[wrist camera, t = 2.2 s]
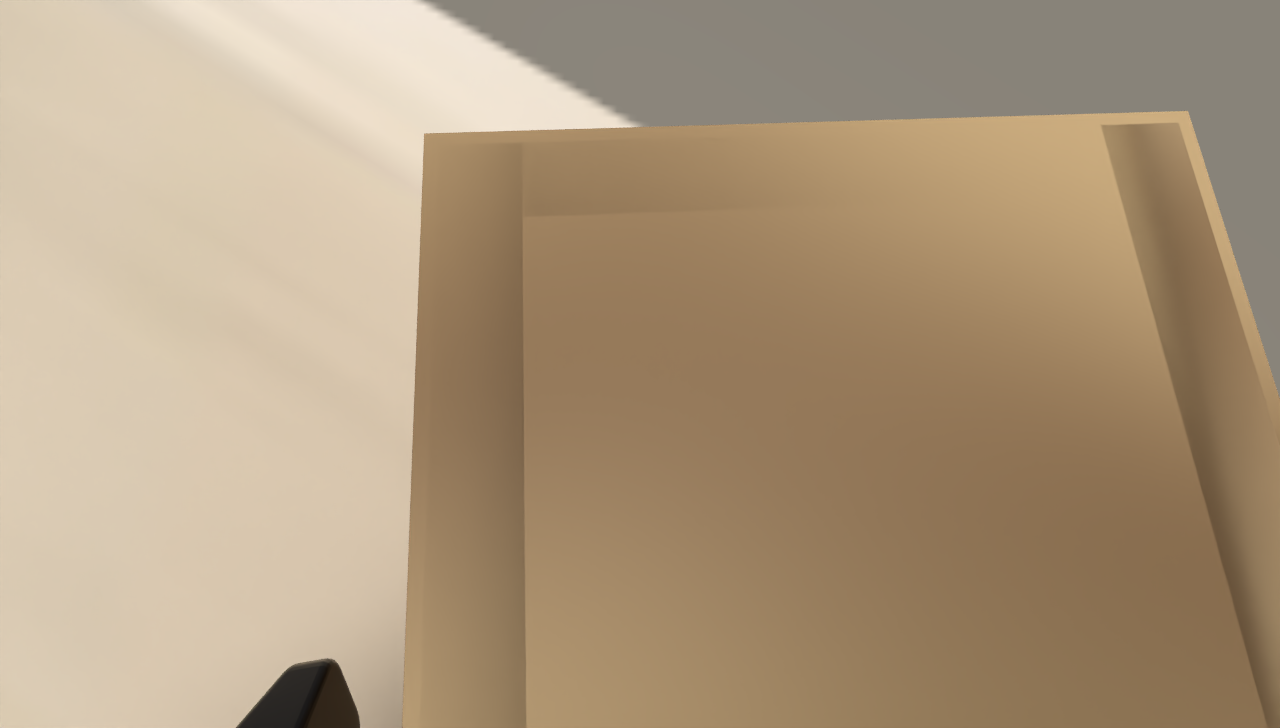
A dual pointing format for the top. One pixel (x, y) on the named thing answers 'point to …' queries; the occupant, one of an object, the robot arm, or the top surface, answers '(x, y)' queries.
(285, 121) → the top surface
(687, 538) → the small crate
